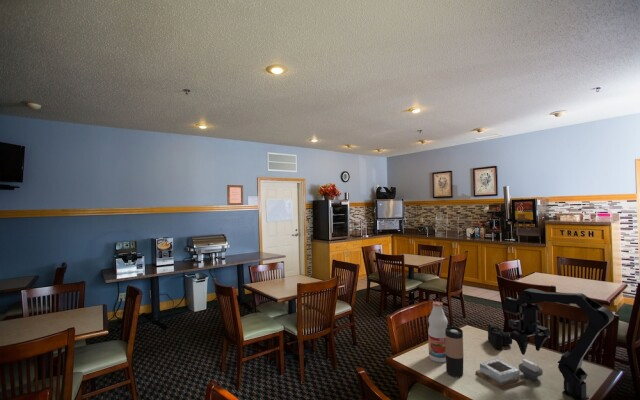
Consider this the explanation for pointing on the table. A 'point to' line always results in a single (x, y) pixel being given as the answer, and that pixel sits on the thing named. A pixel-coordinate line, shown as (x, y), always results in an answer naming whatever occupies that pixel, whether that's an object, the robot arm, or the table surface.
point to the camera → (498, 337)
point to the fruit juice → (437, 333)
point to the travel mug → (454, 351)
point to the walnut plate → (503, 386)
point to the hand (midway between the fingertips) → (530, 352)
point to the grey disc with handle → (530, 370)
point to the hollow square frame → (502, 377)
